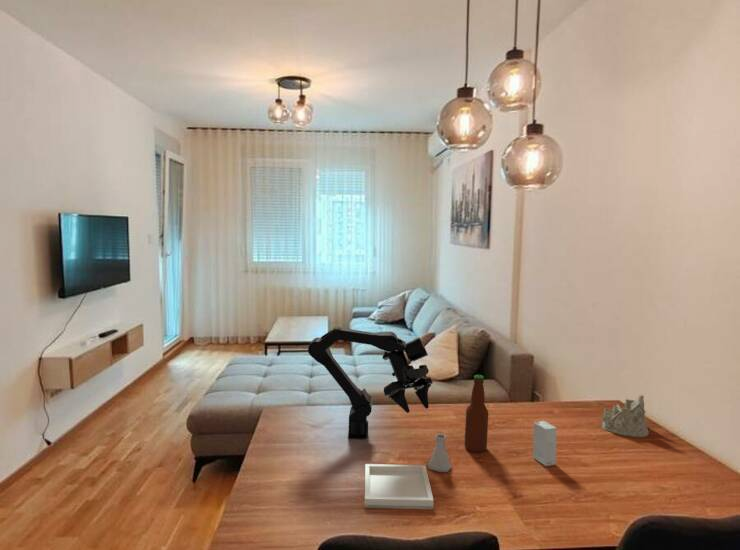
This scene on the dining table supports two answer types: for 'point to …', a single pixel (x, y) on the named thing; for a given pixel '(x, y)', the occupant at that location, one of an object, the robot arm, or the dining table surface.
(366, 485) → the tray
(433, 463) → the flask
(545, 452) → the skincare box
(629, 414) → the grey rock
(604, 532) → the dining table surface
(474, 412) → the bottle
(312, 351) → the robot arm
